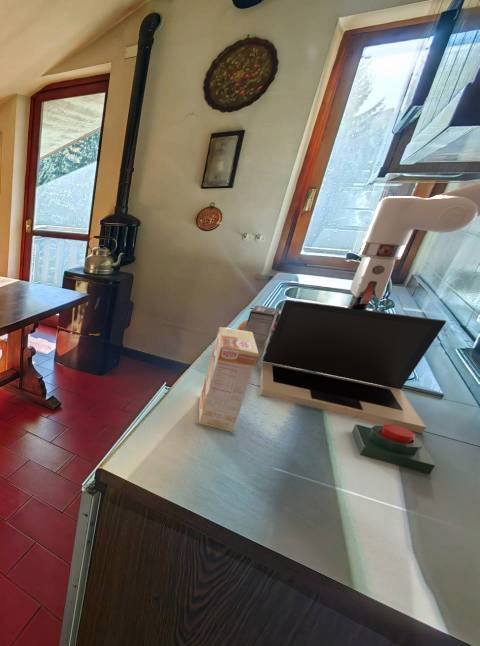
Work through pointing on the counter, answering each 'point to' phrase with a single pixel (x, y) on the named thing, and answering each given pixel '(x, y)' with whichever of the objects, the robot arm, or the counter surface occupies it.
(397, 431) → the button
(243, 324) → the egg
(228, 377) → the coffeecake box
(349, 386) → the laptop
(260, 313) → the coffee box
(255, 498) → the counter surface
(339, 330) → the laptop screen
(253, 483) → the counter surface
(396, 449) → the switch box
